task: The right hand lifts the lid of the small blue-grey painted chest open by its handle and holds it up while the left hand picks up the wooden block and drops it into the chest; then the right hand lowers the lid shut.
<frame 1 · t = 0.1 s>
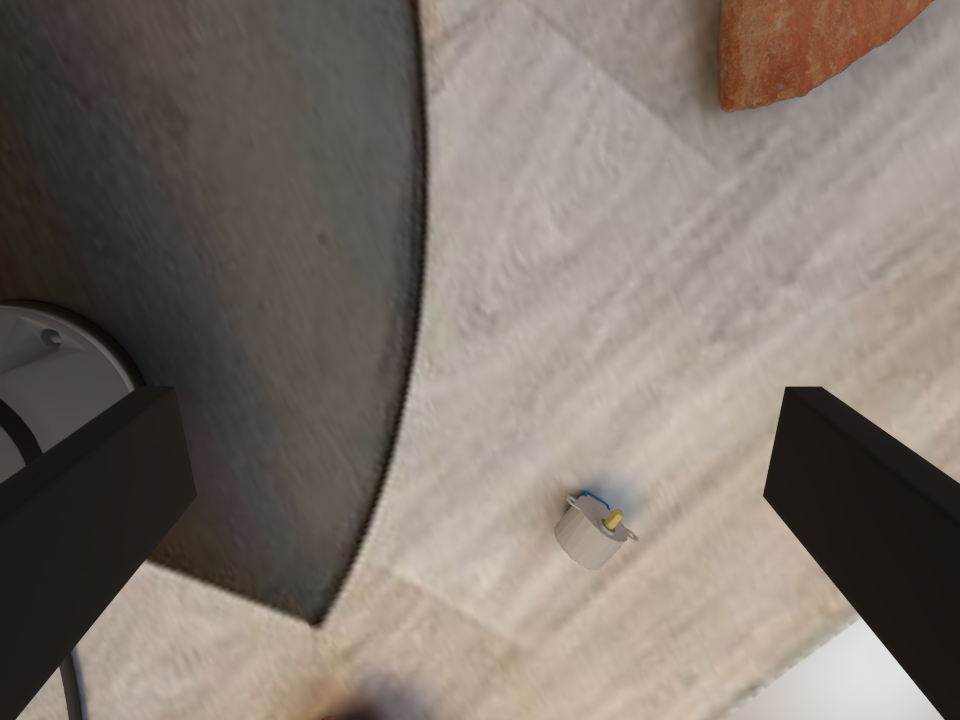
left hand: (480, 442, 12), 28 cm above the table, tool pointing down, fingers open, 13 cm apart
electric motor: (589, 502, 46), on the table
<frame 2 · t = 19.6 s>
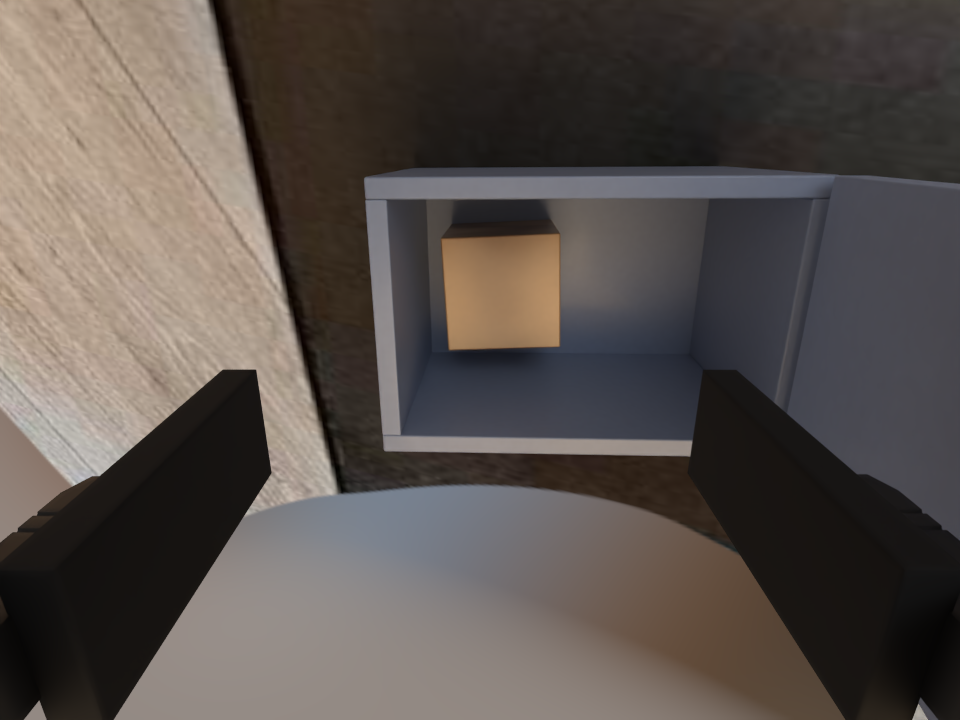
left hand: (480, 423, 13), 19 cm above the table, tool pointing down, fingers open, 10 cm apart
block: (502, 271, 31), point 1 cm above the table, touching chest
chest: (561, 269, 31), on the table, touching block
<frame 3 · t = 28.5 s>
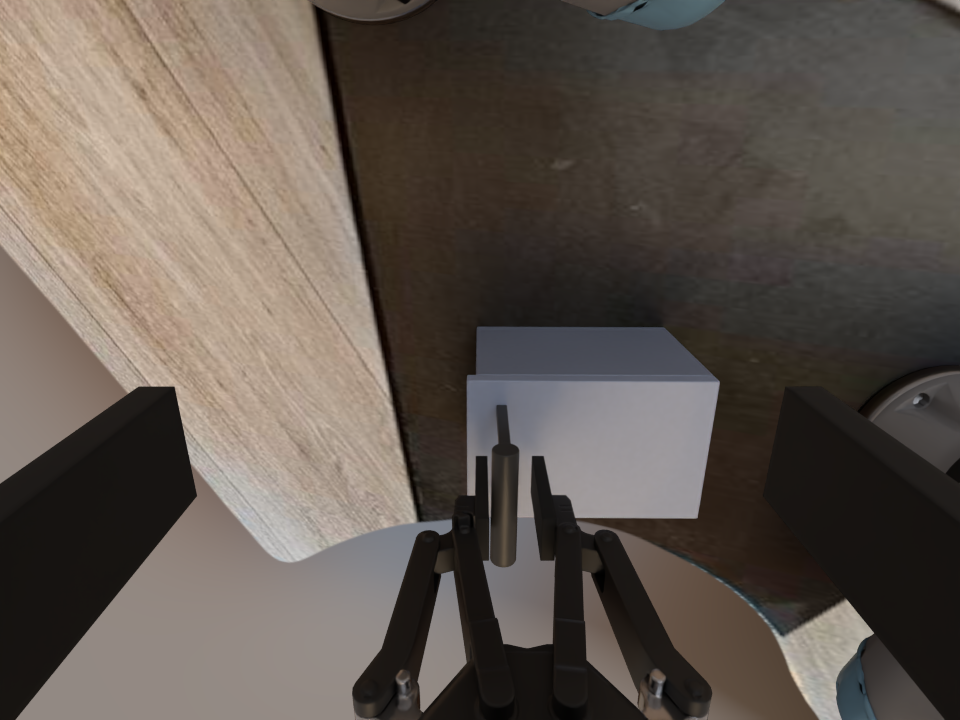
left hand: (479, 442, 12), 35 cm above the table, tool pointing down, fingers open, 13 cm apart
right hand: (509, 474, 36), fingers open, 3 cm apart
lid: (596, 476, 36), point 15 cm above the table, hinge at -0.1°
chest: (566, 384, 50), on the table, touching block
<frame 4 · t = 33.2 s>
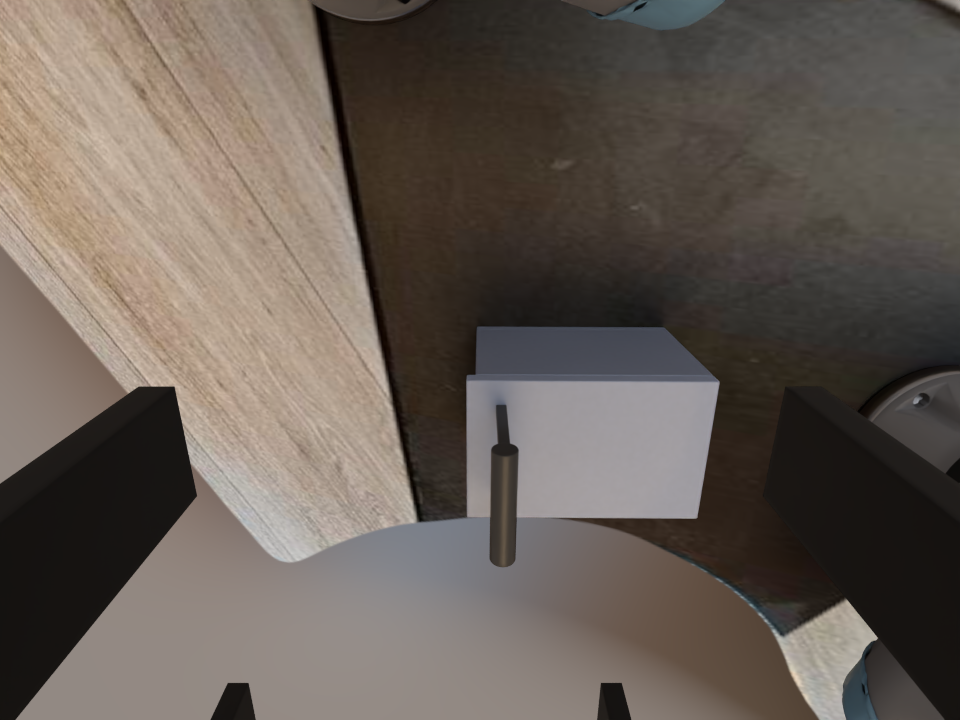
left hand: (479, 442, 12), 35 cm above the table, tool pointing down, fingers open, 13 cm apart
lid: (595, 476, 36), point 15 cm above the table, hinge at -0.1°
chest: (566, 384, 50), on the table, touching block
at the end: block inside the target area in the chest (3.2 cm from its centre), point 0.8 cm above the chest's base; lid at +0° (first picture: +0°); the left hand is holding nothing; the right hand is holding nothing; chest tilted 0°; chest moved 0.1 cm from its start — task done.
